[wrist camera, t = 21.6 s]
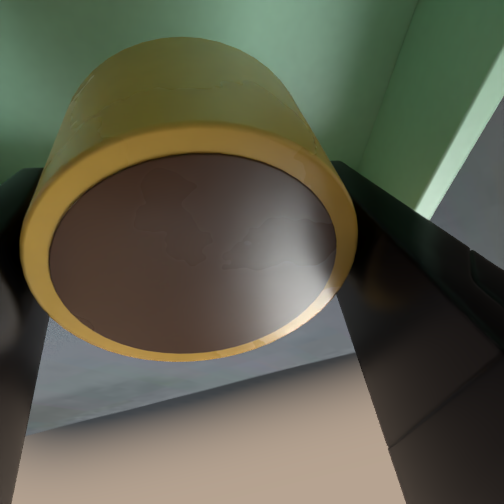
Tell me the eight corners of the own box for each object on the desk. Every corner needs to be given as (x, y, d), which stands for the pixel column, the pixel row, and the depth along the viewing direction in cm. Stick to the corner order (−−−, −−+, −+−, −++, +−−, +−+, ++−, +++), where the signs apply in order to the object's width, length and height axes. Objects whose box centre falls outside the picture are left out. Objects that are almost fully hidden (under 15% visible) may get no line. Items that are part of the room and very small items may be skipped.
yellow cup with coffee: (95, 257, 10) (74, 379, 8) (21, 35, 7) (-63, 131, 4) (290, 242, 11) (327, 347, 9) (323, 35, 7) (404, 116, 5)
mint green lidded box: (357, 186, 15) (401, 268, 13) (-18, 200, 13) (-63, 305, 10) (514, -237, 8) (716, -258, 5) (-352, -391, 5) (-907, -604, 2)
